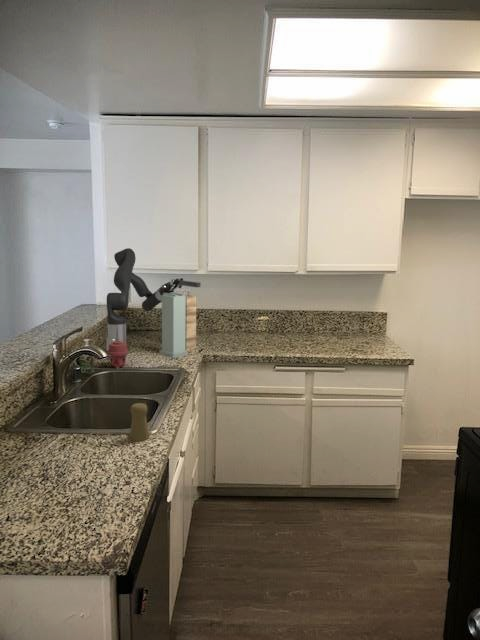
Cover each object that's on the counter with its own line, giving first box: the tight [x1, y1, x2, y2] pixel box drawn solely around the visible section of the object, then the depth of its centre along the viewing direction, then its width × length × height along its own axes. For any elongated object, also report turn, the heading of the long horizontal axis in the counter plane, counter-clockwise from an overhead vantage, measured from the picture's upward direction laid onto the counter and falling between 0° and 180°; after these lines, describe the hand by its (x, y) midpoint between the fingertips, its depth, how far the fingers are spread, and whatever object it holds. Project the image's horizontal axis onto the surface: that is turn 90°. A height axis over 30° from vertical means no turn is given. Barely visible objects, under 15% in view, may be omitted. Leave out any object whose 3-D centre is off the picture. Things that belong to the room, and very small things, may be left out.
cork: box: [129, 402, 150, 443], centre depth 151 cm, size 6×6×11 cm
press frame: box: [158, 292, 189, 359], centre depth 257 cm, size 12×10×33 cm
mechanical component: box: [106, 341, 129, 369], centre depth 231 cm, size 12×10×10 cm
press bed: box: [184, 294, 197, 351], centre depth 273 cm, size 10×7×30 cm
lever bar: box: [170, 278, 202, 288], centre depth 269 cm, size 22×2×2 cm, turn 46°
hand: (180, 279), depth 272 cm, fingers closed on lever bar, 2 cm apart
